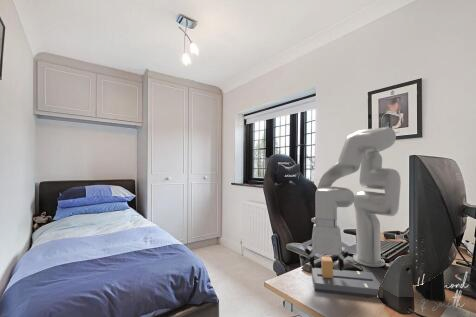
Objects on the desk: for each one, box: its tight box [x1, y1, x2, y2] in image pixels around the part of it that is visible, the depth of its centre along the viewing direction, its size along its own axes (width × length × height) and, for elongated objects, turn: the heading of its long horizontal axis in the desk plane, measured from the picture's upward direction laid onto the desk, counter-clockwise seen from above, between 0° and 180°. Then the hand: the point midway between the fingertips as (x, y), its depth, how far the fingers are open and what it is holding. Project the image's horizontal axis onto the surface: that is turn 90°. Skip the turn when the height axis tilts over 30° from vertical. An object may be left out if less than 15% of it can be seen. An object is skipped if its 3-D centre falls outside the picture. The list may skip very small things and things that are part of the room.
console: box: [311, 267, 381, 298], centre depth 86 cm, size 12×22×3 cm, turn 77°
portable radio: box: [414, 271, 446, 302], centre depth 79 cm, size 8×6×25 cm
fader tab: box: [320, 256, 334, 278], centre depth 88 cm, size 4×4×8 cm
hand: (326, 267), depth 87 cm, fingers open, 9 cm apart
